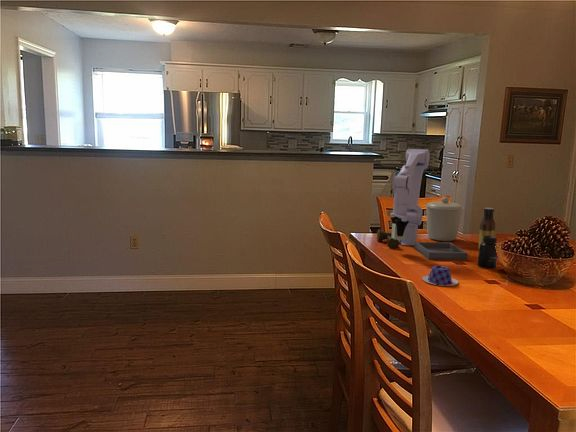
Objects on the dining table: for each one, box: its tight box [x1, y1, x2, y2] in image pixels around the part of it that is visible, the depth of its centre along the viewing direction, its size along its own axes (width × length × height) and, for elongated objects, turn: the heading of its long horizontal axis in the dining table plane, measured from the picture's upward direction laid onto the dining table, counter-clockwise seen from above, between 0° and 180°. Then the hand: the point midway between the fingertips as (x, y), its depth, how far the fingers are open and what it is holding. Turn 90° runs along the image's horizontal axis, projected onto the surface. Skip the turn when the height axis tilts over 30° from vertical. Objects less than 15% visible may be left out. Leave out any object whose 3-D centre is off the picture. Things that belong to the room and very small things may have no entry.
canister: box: [424, 196, 465, 242], centre depth 222 cm, size 18×18×21 cm
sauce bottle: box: [477, 207, 496, 249], centre depth 198 cm, size 6×6×20 cm
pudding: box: [421, 265, 459, 287], centre depth 158 cm, size 12×12×5 cm
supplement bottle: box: [477, 236, 499, 270], centre depth 177 cm, size 7×7×12 cm
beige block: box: [391, 223, 406, 240], centre depth 194 cm, size 4×4×6 cm
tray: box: [414, 241, 468, 261], centre depth 195 cm, size 18×16×3 cm
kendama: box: [376, 229, 400, 249], centre depth 212 cm, size 6×10×20 cm
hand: (398, 234), depth 195 cm, fingers closed on beige block, 4 cm apart
